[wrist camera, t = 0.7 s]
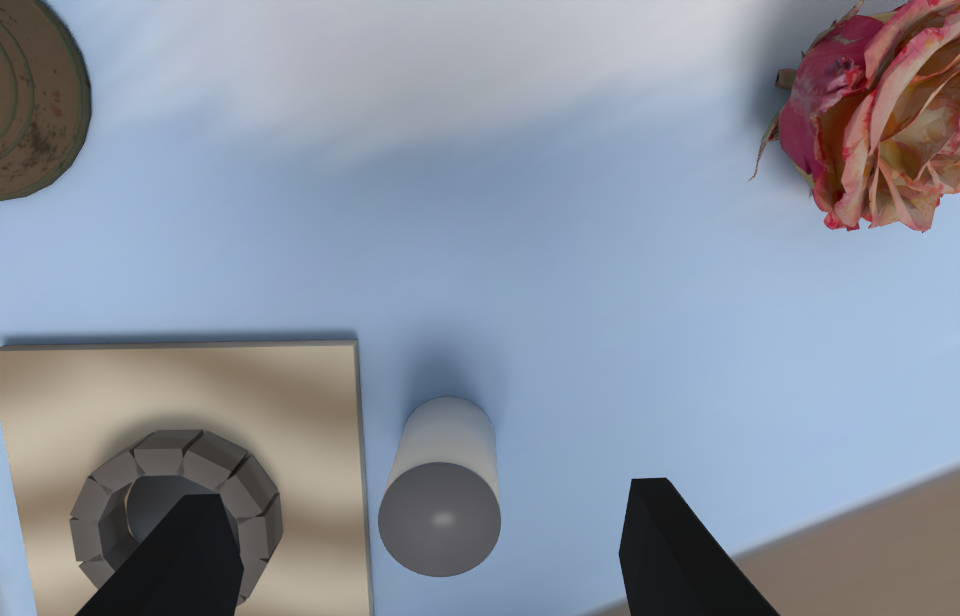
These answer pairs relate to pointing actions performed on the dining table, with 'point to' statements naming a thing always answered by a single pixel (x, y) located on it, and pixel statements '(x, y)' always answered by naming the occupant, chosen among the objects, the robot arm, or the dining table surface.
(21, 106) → the candlestick holder
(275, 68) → the dining table surface
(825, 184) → the flower
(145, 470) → the tan square tray
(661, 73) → the dining table surface
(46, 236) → the dining table surface
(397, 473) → the grey capped cylinder
